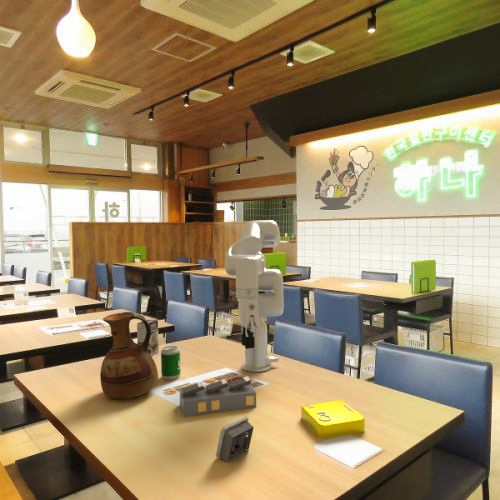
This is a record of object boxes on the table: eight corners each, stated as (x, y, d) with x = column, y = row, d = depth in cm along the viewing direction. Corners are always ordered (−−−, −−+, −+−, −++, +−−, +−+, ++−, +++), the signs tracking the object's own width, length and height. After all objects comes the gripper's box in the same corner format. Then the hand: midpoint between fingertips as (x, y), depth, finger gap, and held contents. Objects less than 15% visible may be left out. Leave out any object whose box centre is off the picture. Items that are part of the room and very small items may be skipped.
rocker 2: (225, 382, 145) (224, 378, 145) (228, 386, 141) (227, 382, 141) (206, 389, 143) (205, 385, 143) (208, 393, 139) (207, 389, 139)
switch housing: (247, 395, 151) (247, 380, 150) (256, 407, 141) (256, 390, 141) (179, 404, 144) (179, 388, 144) (184, 417, 134) (183, 400, 134)
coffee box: (149, 358, 197) (148, 323, 196) (137, 357, 199) (136, 323, 198) (159, 352, 206) (158, 319, 205) (147, 351, 208) (146, 318, 207)
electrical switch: (240, 445, 116) (242, 413, 115) (254, 453, 113) (256, 420, 112) (215, 459, 110) (216, 425, 109) (228, 468, 106) (230, 433, 105)
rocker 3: (248, 379, 147) (247, 376, 147) (251, 383, 143) (250, 379, 143) (229, 386, 145) (228, 382, 145) (231, 390, 142) (230, 386, 141)
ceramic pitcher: (99, 388, 160) (96, 309, 158) (153, 380, 168) (150, 305, 166) (103, 408, 142) (100, 319, 140) (163, 398, 150) (161, 314, 148)
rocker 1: (202, 385, 143) (201, 381, 143) (204, 389, 139) (203, 385, 139) (182, 392, 141) (181, 388, 141) (183, 396, 137) (182, 392, 137)
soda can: (176, 381, 166) (175, 351, 166) (158, 380, 168) (157, 350, 167) (183, 374, 174) (182, 345, 173) (166, 373, 175) (165, 345, 175)
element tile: (367, 433, 123) (367, 417, 123) (320, 441, 119) (320, 424, 118) (342, 411, 137) (342, 397, 137) (299, 418, 133) (298, 403, 133)
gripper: (265, 296, 137) (266, 352, 138) (250, 289, 153) (251, 339, 154) (243, 297, 135) (244, 354, 136) (230, 290, 151) (231, 341, 151)
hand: (248, 346), depth 145 cm, fingers open, 3 cm apart
